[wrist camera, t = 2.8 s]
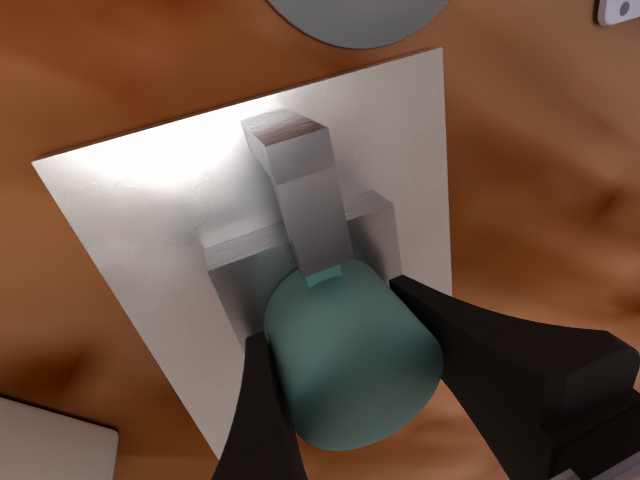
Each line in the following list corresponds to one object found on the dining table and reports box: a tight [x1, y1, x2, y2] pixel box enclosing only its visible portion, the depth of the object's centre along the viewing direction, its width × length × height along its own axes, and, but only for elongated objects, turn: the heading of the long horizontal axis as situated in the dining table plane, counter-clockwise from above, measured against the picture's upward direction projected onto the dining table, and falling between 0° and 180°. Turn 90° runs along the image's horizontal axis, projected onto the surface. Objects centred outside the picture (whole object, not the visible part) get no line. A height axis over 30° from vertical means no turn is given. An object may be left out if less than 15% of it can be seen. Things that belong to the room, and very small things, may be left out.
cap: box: [264, 259, 443, 451], centre depth 12 cm, size 5×8×4 cm, turn 12°
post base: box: [31, 47, 452, 460], centre depth 15 cm, size 14×16×5 cm
